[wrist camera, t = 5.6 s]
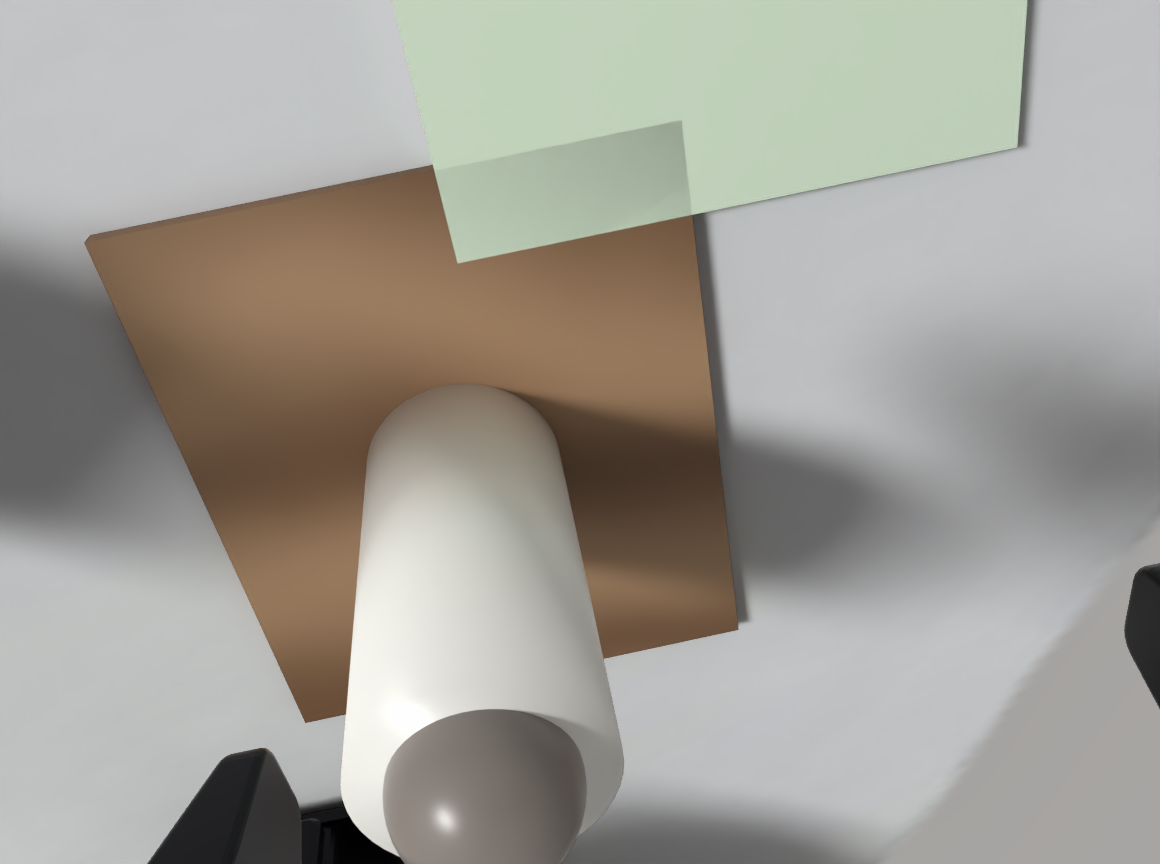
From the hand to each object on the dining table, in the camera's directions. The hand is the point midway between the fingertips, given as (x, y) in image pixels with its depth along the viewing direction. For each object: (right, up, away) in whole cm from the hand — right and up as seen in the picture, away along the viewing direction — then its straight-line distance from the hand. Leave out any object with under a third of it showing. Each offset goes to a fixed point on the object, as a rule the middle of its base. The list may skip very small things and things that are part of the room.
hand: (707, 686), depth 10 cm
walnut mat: (-4, +2, +14) cm, 15 cm away
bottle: (-4, +2, +14) cm, 15 cm away
